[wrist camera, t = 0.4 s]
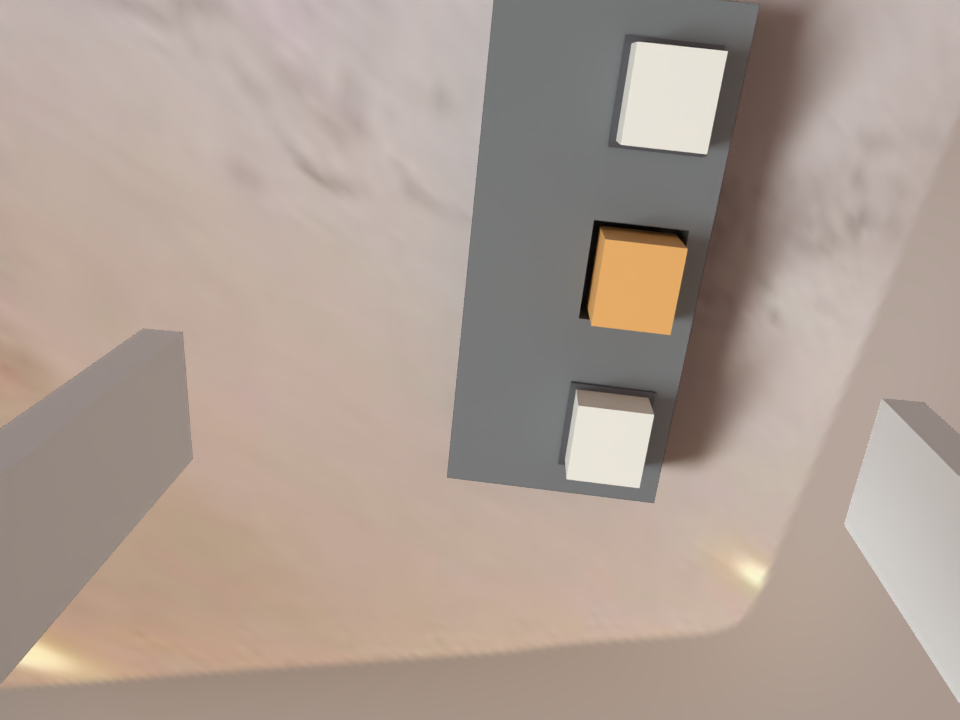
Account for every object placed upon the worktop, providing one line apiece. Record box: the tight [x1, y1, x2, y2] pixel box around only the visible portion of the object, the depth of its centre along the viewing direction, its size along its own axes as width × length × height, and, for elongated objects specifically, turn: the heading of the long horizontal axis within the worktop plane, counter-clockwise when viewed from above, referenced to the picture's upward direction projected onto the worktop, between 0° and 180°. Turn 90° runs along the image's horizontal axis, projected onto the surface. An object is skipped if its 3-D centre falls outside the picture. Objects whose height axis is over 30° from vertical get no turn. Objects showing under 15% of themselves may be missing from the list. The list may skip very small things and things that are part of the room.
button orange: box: [587, 225, 688, 335], centre depth 35 cm, size 4×4×3 cm
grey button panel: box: [447, 0, 760, 503], centre depth 37 cm, size 24×11×6 cm, turn 174°
